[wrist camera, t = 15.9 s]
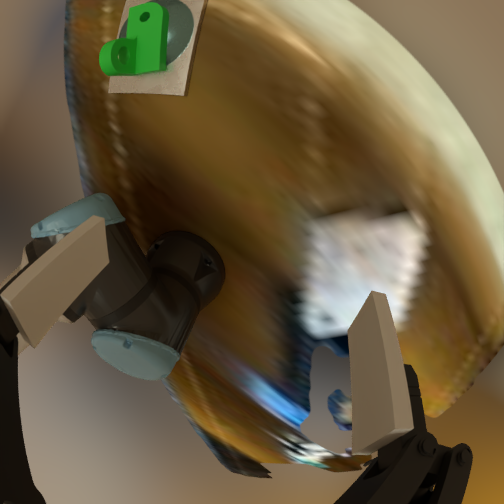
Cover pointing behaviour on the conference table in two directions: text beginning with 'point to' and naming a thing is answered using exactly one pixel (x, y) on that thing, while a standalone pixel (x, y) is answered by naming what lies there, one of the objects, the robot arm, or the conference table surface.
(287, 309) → the conference table surface
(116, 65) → the mechanical part
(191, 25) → the carrier plate
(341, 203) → the conference table surface
